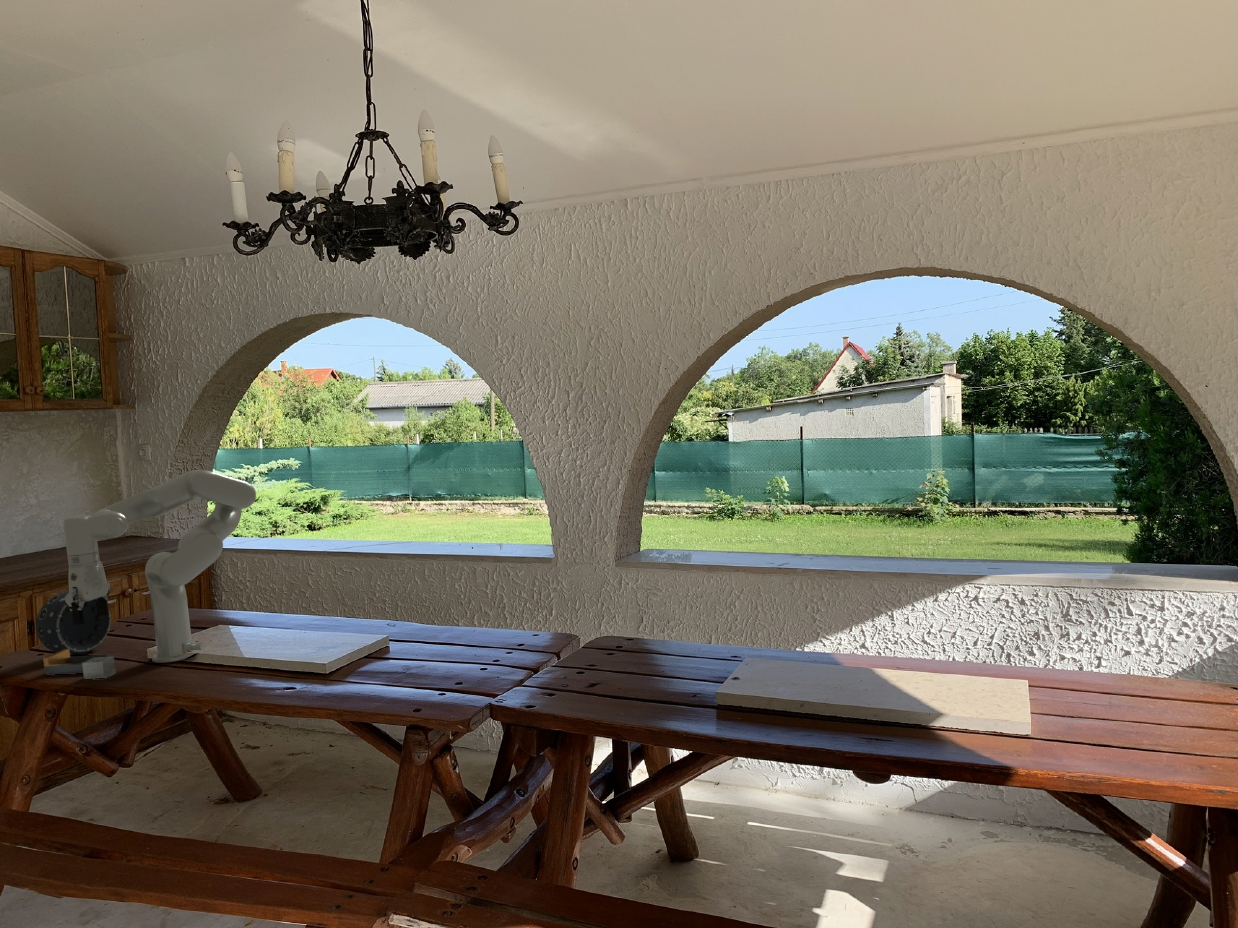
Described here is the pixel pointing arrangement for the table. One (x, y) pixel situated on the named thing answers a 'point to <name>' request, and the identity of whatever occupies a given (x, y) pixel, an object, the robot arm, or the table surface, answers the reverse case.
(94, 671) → the grey cube
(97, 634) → the dark grey studded drum
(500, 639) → the table surface
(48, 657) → the coupler bracket
